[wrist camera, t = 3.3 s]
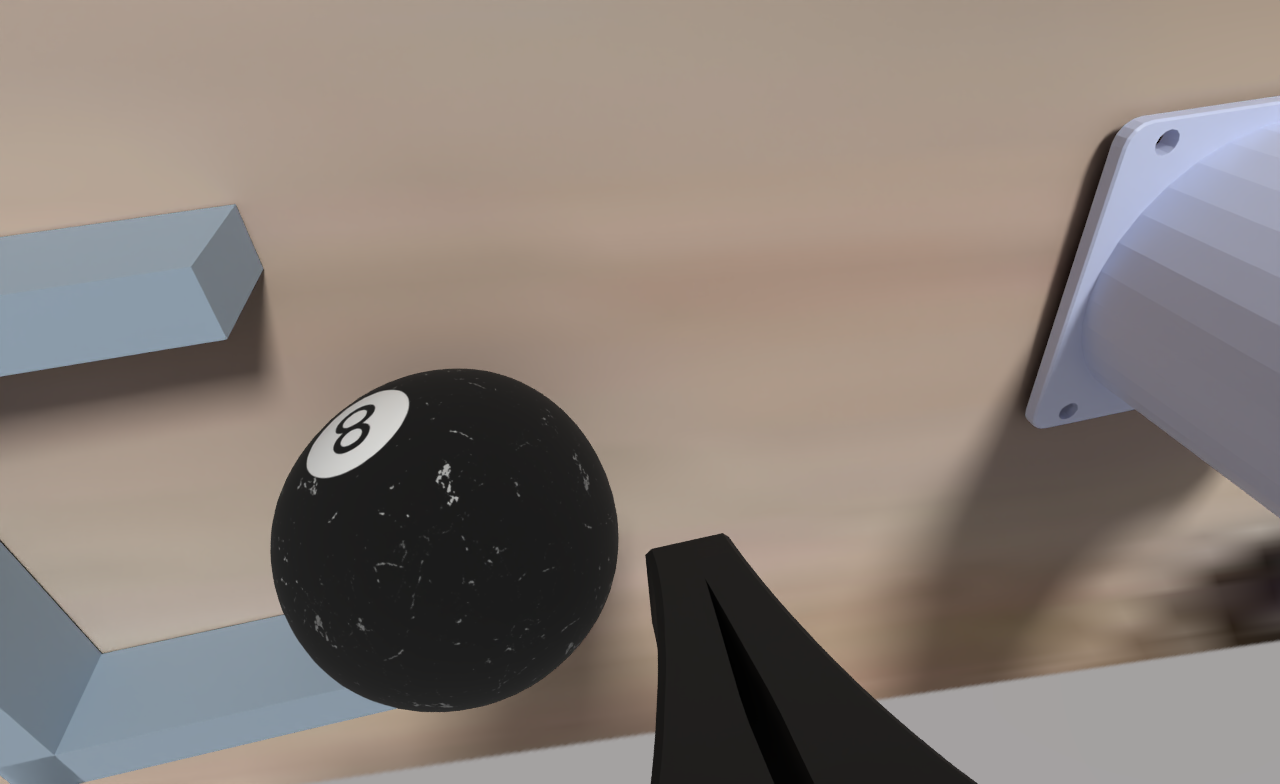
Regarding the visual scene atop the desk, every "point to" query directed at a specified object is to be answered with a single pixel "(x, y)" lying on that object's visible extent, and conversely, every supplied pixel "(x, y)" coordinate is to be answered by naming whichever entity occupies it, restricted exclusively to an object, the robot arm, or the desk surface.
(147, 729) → the corral
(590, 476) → the billiard ball
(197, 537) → the desk surface
